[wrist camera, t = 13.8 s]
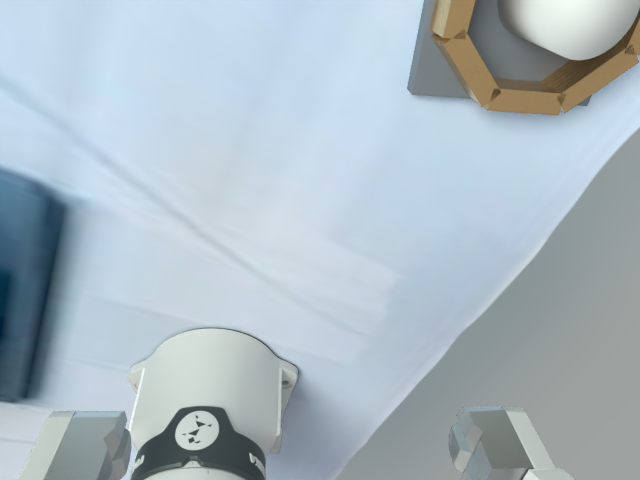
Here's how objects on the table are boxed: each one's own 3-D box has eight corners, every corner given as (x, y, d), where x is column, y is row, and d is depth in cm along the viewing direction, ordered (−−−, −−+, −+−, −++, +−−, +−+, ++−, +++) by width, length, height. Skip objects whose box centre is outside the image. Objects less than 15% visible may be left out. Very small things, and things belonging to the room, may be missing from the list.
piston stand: (576, 99, 36) (647, 140, 29) (407, 88, 34) (439, 128, 27) (667, -124, 28) (796, -141, 21) (453, -151, 26) (515, -180, 19)
